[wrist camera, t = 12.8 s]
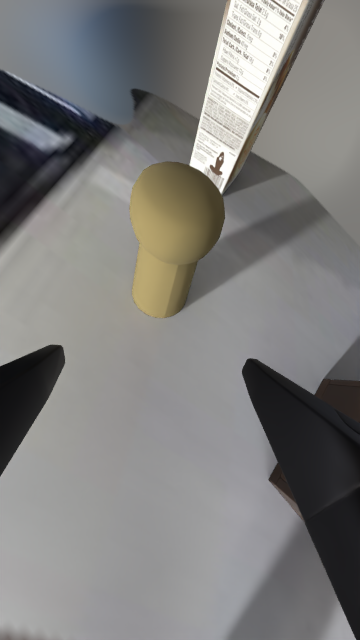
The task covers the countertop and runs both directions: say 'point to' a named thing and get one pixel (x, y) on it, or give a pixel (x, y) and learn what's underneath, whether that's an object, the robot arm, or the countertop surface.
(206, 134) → the coffee box
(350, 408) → the cabinet
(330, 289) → the countertop surface
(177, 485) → the countertop surface
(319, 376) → the countertop surface
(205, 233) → the cork
